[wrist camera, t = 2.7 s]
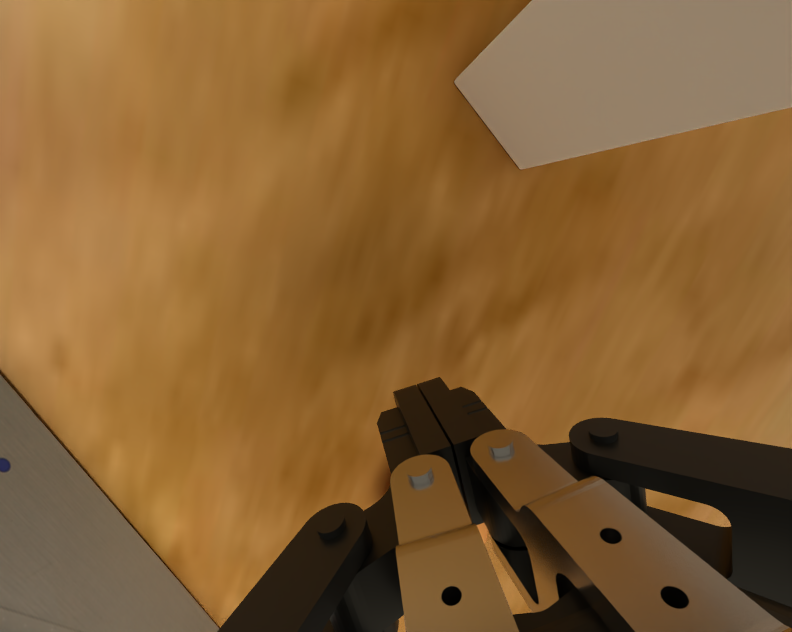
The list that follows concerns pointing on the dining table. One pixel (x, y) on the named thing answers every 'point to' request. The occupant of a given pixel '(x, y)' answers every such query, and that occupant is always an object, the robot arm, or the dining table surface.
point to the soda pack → (74, 545)
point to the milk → (627, 72)
